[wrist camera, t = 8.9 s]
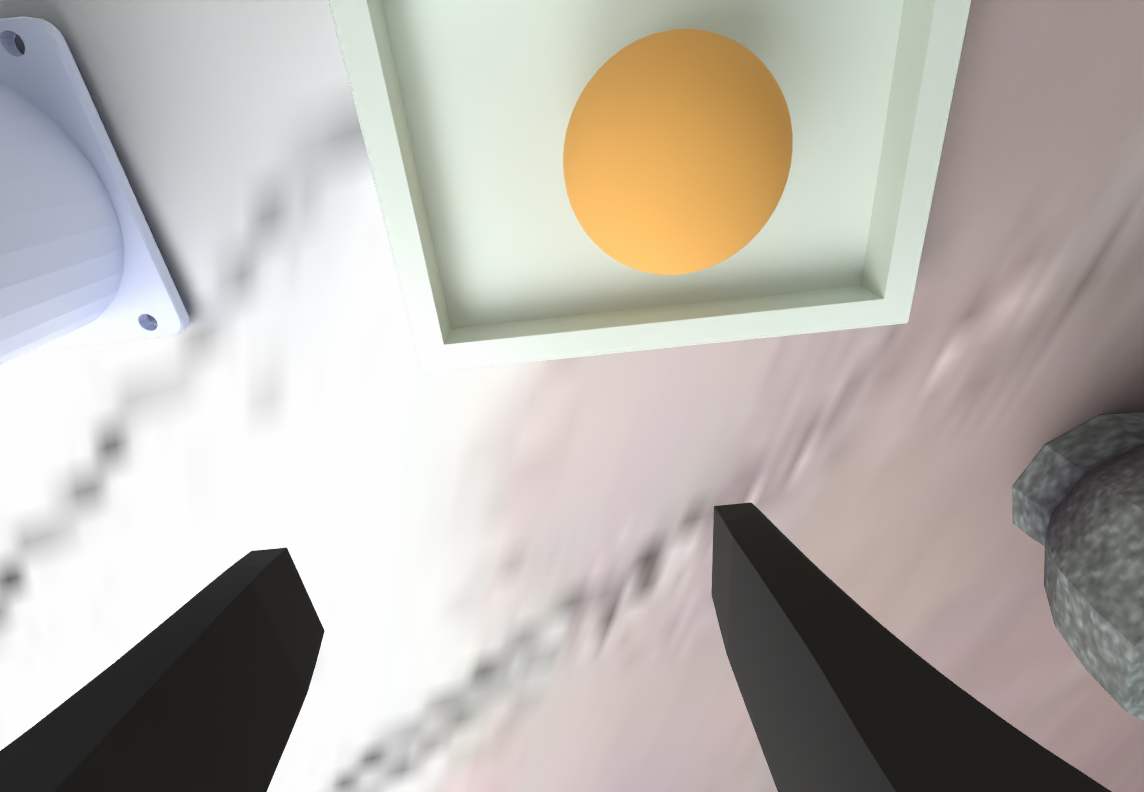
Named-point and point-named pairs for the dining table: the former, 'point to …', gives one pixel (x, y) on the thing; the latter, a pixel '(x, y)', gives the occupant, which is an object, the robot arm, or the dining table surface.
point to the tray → (538, 192)
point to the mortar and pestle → (1093, 545)
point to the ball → (677, 151)
